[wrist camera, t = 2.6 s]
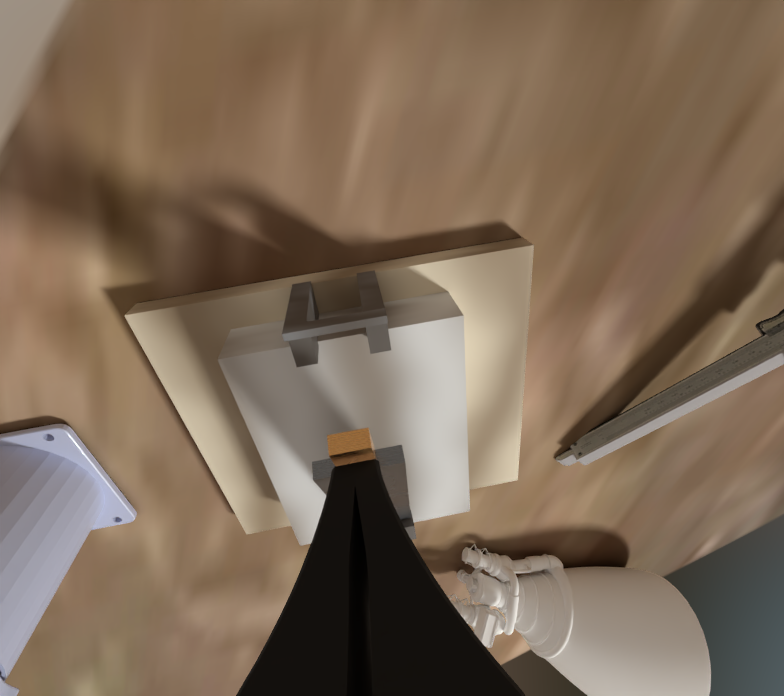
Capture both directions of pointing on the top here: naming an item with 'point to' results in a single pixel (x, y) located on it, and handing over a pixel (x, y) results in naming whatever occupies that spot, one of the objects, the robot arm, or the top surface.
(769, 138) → the top surface
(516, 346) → the base board
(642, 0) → the top surface
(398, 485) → the grey flat bar
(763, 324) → the caliper
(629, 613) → the rocket engine
